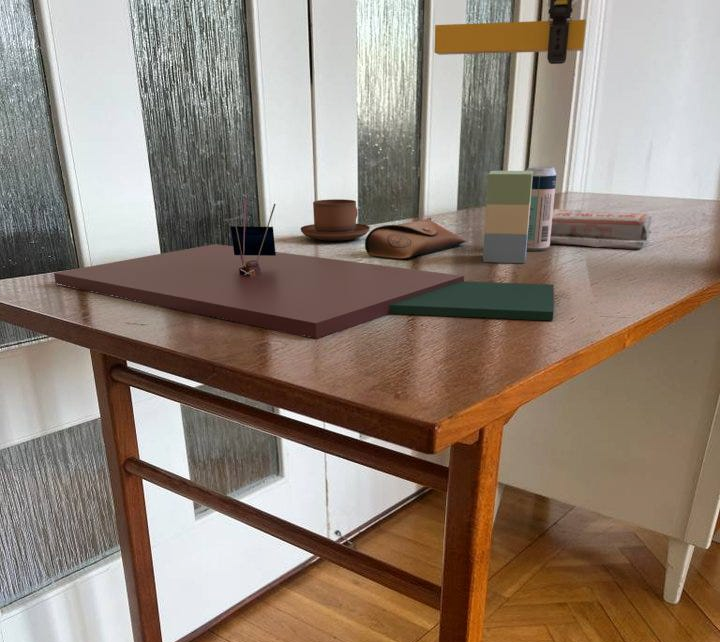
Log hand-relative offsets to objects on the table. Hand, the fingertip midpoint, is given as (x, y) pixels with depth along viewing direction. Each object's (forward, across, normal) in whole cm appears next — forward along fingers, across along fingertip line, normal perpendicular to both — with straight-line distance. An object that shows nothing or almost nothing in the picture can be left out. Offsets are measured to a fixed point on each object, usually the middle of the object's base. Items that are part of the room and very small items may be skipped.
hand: (556, 61), depth 93 cm
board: (+25, -18, +35) cm, 47 cm away
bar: (-1, 0, +6) cm, 6 cm away
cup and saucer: (+25, +22, +35) cm, 49 cm away
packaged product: (+25, +26, -8) cm, 37 cm away
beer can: (+25, +18, +1) cm, 31 cm away
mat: (+25, -22, +9) cm, 34 cm away
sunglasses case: (+25, +13, +19) cm, 34 cm away
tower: (+25, +7, +5) cm, 27 cm away
